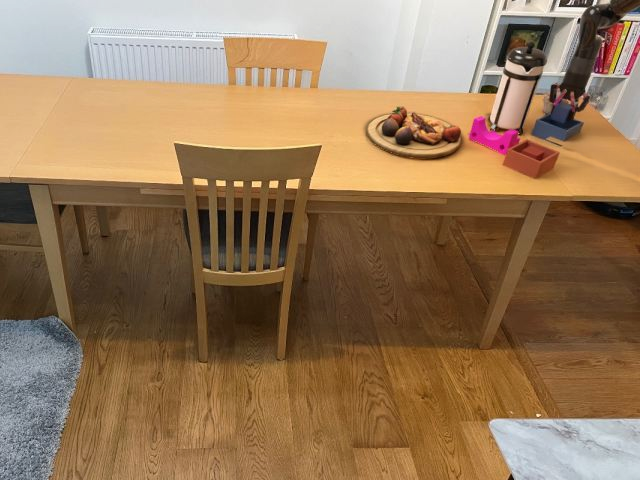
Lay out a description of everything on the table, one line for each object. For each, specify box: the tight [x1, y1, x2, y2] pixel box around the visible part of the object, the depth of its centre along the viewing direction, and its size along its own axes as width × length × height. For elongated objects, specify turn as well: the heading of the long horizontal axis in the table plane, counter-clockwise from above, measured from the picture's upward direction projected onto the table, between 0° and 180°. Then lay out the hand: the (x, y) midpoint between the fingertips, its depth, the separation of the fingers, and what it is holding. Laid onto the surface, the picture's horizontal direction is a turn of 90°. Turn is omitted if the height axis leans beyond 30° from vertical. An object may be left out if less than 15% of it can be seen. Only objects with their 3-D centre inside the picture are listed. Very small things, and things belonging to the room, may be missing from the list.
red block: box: [521, 146, 545, 161], centre depth 188 cm, size 5×5×5 cm
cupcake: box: [542, 89, 570, 115], centre depth 220 cm, size 9×9×10 cm
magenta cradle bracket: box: [468, 115, 521, 156], centre depth 199 cm, size 15×6×8 cm, turn 37°
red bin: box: [502, 138, 561, 180], centre depth 188 cm, size 12×12×6 cm
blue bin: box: [530, 113, 585, 147], centre depth 206 cm, size 12×12×6 cm
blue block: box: [550, 102, 571, 124], centre depth 202 cm, size 5×5×5 cm
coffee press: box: [488, 41, 548, 136], centre depth 204 cm, size 17×16×30 cm
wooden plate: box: [366, 106, 462, 159], centre depth 201 cm, size 32×32×8 cm
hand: (561, 118), depth 203 cm, fingers closed on blue block, 5 cm apart
